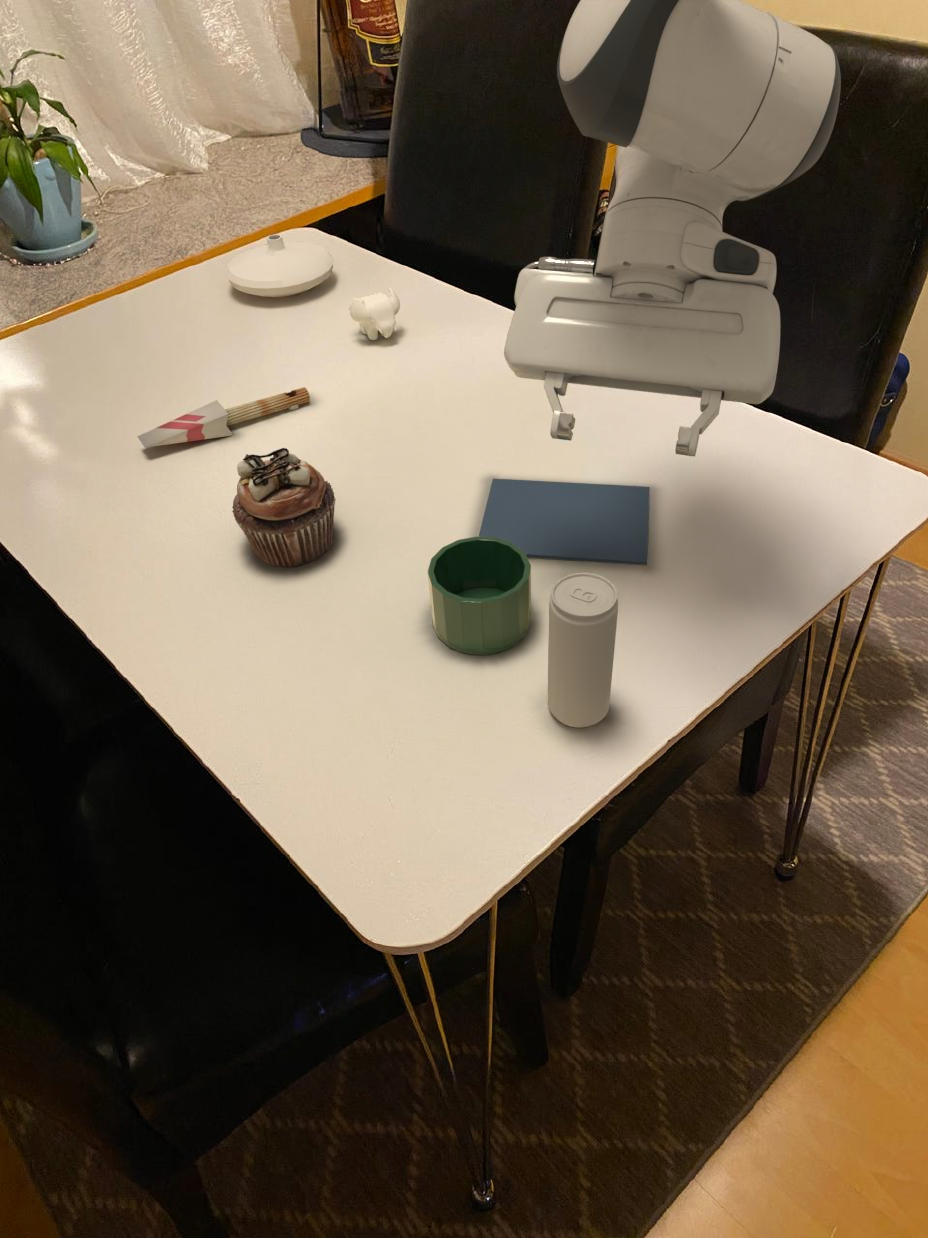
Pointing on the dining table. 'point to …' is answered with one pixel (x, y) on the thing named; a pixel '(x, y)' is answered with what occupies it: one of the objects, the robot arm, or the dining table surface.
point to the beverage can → (581, 648)
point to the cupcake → (284, 508)
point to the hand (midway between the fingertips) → (621, 445)
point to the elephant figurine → (376, 313)
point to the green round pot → (480, 594)
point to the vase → (279, 268)
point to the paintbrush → (218, 419)
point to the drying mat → (570, 520)
